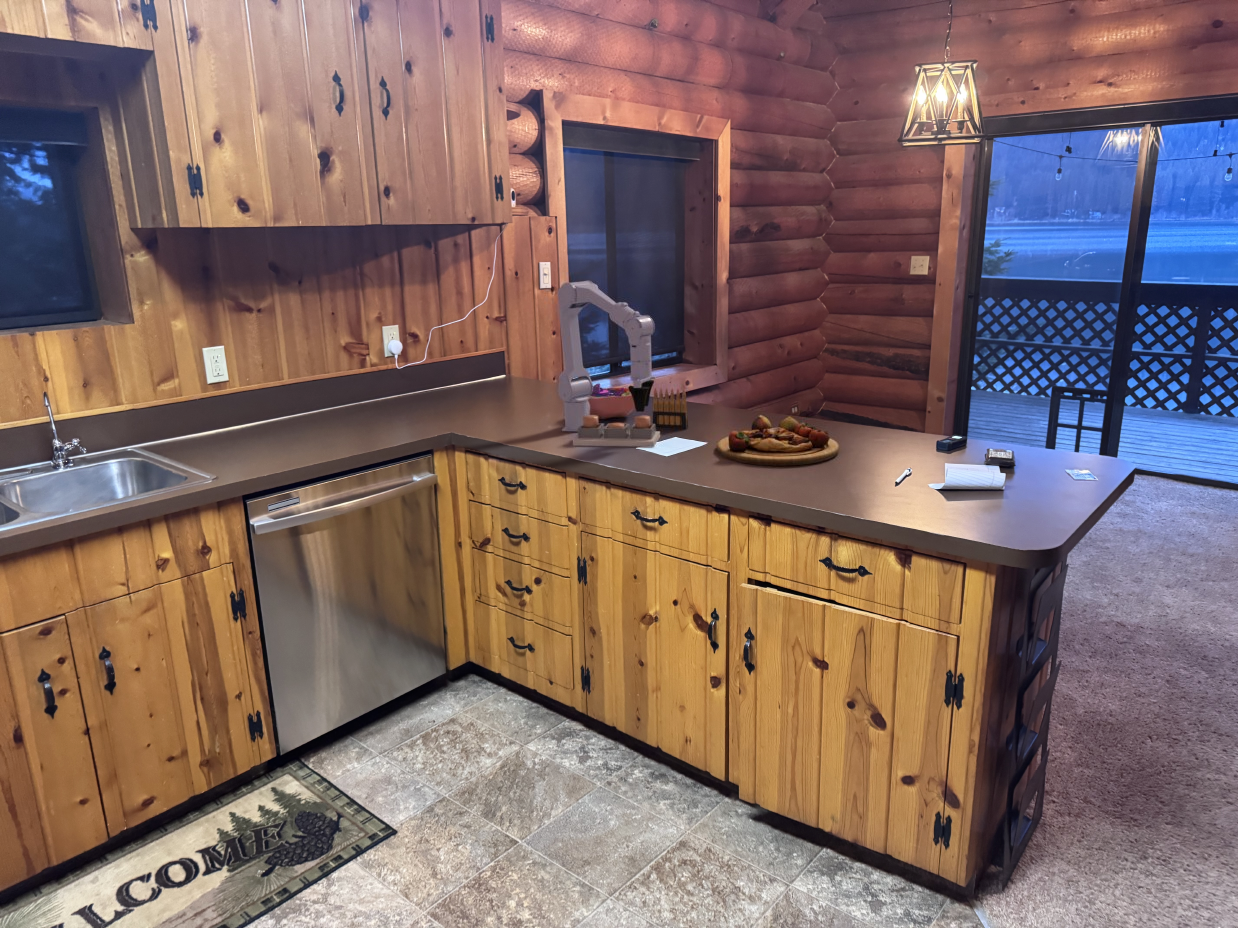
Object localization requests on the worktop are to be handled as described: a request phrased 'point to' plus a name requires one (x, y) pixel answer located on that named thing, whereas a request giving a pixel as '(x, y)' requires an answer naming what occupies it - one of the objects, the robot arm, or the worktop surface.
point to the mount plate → (616, 436)
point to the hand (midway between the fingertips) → (642, 408)
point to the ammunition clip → (670, 410)
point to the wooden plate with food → (778, 444)
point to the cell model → (610, 402)
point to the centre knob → (616, 425)
